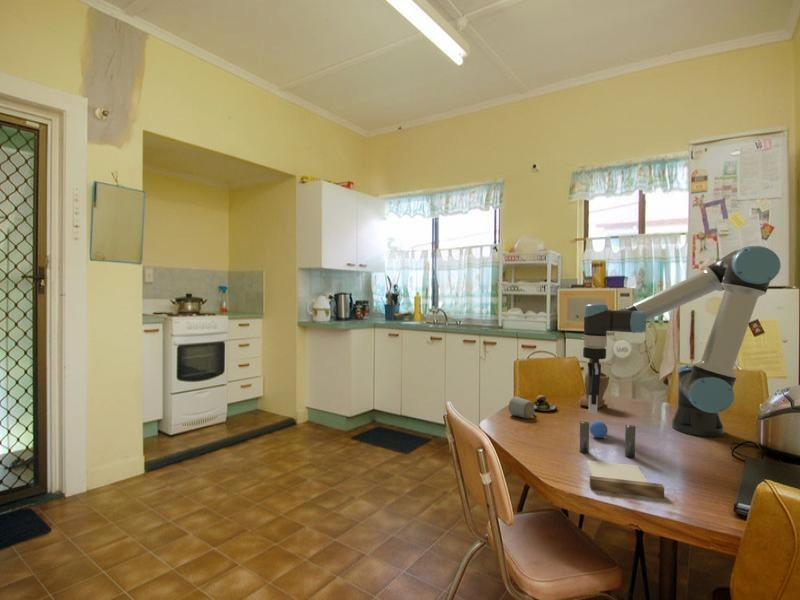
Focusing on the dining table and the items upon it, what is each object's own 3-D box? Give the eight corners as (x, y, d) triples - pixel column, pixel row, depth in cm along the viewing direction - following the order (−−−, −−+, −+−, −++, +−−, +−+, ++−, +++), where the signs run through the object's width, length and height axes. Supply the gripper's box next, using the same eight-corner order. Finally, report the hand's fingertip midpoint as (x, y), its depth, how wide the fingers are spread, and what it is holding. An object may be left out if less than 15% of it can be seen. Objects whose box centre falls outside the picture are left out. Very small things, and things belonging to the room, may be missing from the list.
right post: (633, 455, 129) (634, 425, 129) (636, 458, 127) (636, 428, 127) (624, 454, 130) (624, 424, 130) (626, 457, 127) (626, 427, 127)
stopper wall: (661, 494, 104) (661, 484, 104) (664, 498, 102) (664, 487, 102) (589, 485, 108) (589, 475, 108) (590, 489, 106) (590, 479, 106)
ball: (606, 435, 147) (606, 419, 147) (608, 440, 142) (609, 424, 142) (588, 434, 149) (588, 418, 149) (590, 439, 144) (590, 422, 143)
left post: (588, 450, 133) (588, 421, 133) (589, 453, 130) (589, 424, 130) (579, 450, 133) (579, 421, 133) (580, 453, 131) (580, 423, 131)
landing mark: (637, 466, 121) (637, 465, 121) (649, 485, 109) (649, 484, 109) (586, 460, 125) (586, 460, 125) (593, 479, 112) (593, 478, 112)
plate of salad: (528, 412, 177) (529, 394, 177) (525, 405, 189) (526, 388, 189) (559, 414, 175) (559, 396, 175) (554, 407, 187) (554, 389, 186)
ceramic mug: (525, 420, 165) (525, 401, 165) (507, 416, 171) (508, 397, 171) (540, 416, 171) (540, 398, 171) (523, 412, 177) (523, 394, 177)
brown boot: (606, 411, 178) (606, 375, 178) (575, 407, 185) (576, 372, 185) (612, 403, 191) (612, 370, 191) (583, 400, 198) (583, 367, 198)
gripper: (581, 344, 162) (579, 407, 162) (585, 348, 149) (583, 416, 150) (603, 345, 160) (601, 409, 160) (609, 349, 147) (607, 418, 148)
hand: (592, 412), depth 155 cm, fingers closed
